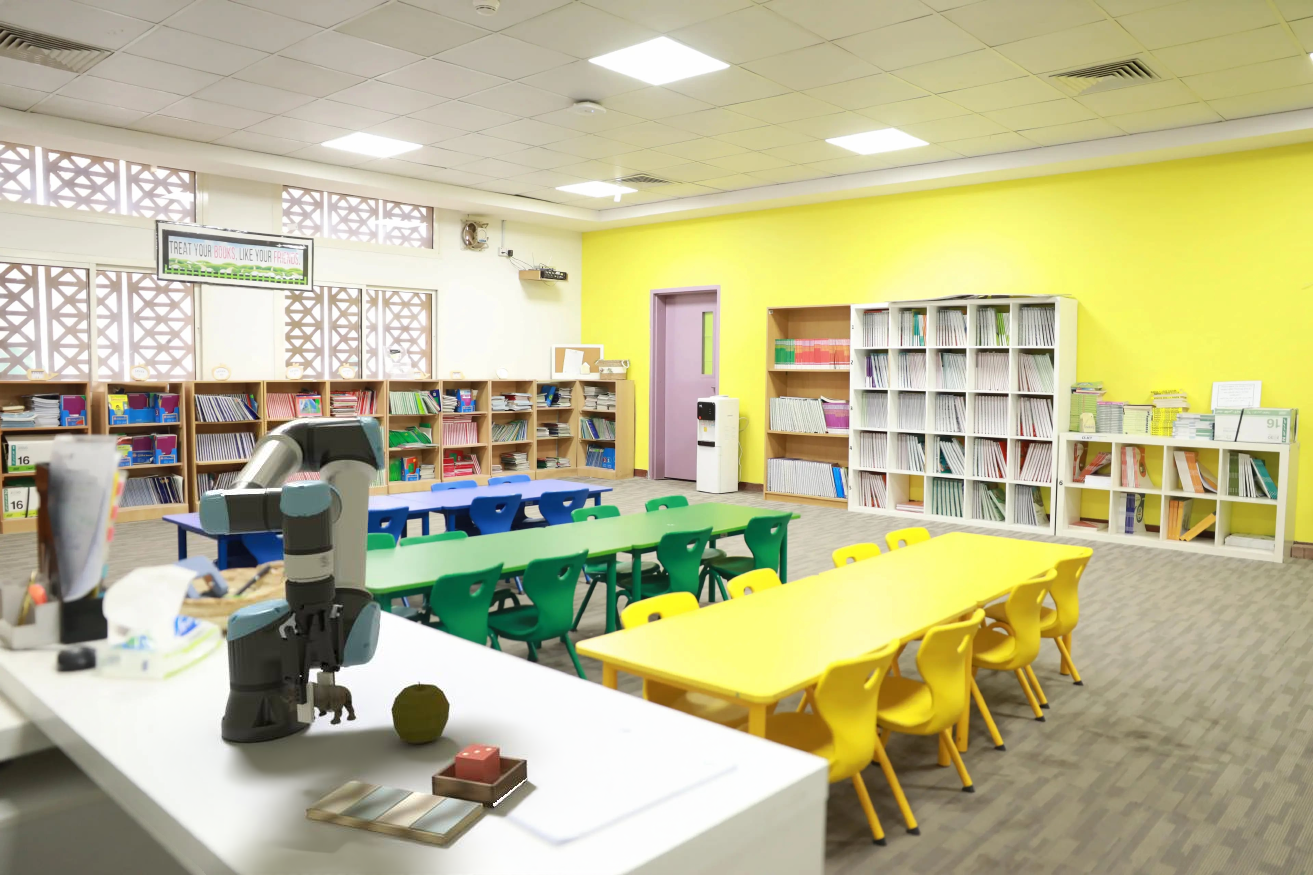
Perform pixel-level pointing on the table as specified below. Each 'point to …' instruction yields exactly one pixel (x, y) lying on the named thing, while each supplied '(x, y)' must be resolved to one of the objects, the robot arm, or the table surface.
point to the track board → (396, 811)
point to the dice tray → (478, 792)
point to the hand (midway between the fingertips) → (316, 715)
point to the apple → (420, 713)
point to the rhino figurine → (327, 701)
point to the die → (478, 764)
